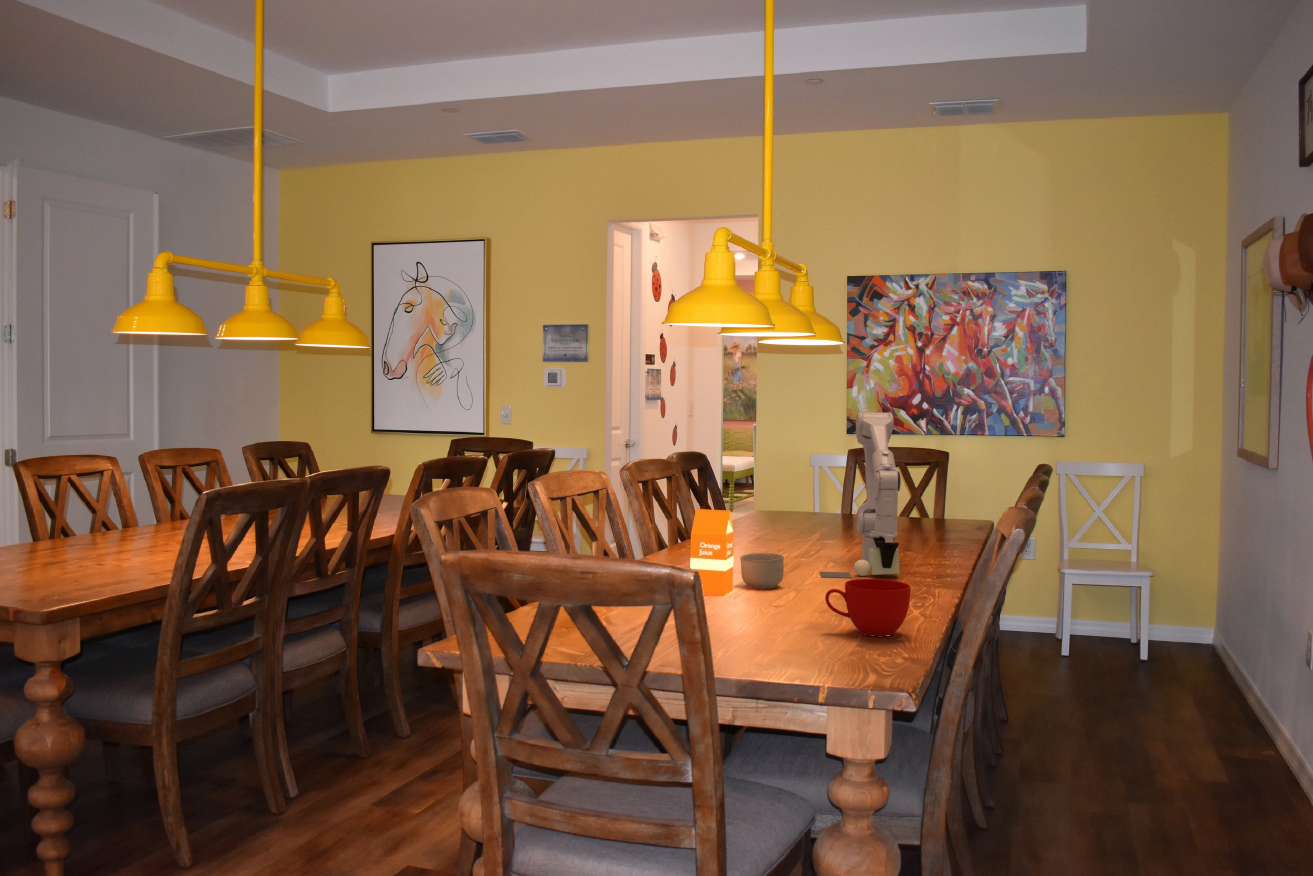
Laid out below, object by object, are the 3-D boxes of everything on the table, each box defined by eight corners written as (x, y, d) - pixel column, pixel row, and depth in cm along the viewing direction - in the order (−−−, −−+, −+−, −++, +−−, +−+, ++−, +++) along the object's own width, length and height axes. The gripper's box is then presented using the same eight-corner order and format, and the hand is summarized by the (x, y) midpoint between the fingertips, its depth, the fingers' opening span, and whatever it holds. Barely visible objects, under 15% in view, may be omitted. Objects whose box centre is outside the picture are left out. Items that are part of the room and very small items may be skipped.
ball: (852, 574, 278) (853, 558, 278) (869, 575, 277) (869, 558, 277) (854, 577, 273) (854, 560, 273) (871, 577, 273) (871, 561, 273)
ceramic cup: (820, 625, 215) (821, 577, 215) (902, 627, 214) (903, 579, 214) (828, 640, 202) (830, 589, 202) (915, 641, 201) (917, 591, 201)
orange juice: (724, 596, 245) (726, 512, 244) (689, 593, 248) (690, 510, 247) (733, 590, 252) (734, 509, 252) (698, 587, 255) (699, 507, 254)
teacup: (785, 591, 252) (786, 559, 252) (741, 590, 252) (741, 558, 252) (779, 581, 266) (780, 550, 265) (737, 580, 266) (738, 549, 266)
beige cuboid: (896, 569, 277) (895, 546, 277) (899, 573, 271) (898, 550, 271) (870, 570, 278) (868, 548, 278) (872, 574, 272) (871, 551, 272)
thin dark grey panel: (819, 572, 280) (819, 571, 280) (849, 573, 280) (849, 572, 280) (821, 577, 272) (821, 576, 272) (852, 578, 272) (852, 577, 272)
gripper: (867, 511, 282) (866, 561, 282) (874, 518, 267) (873, 570, 268) (894, 512, 281) (892, 562, 282) (902, 518, 267) (900, 570, 267)
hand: (885, 566), depth 275 cm, fingers closed on beige cuboid, 6 cm apart
